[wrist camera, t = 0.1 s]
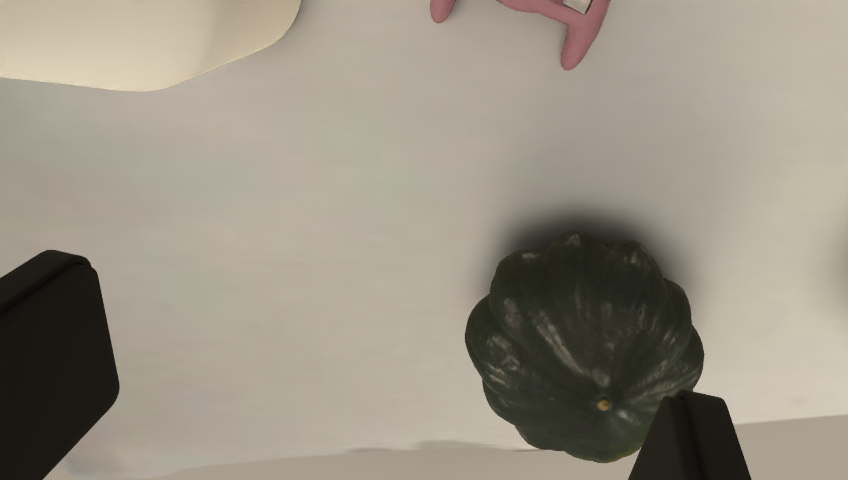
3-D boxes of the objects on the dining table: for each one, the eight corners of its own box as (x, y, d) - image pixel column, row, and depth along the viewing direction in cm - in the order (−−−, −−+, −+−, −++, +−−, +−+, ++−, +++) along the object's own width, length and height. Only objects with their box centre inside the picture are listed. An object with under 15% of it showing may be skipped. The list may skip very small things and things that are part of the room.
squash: (518, 460, 45) (655, 563, 31) (399, 318, 42) (492, 360, 28) (635, 335, 49) (805, 375, 35) (533, 194, 46) (676, 176, 31)
